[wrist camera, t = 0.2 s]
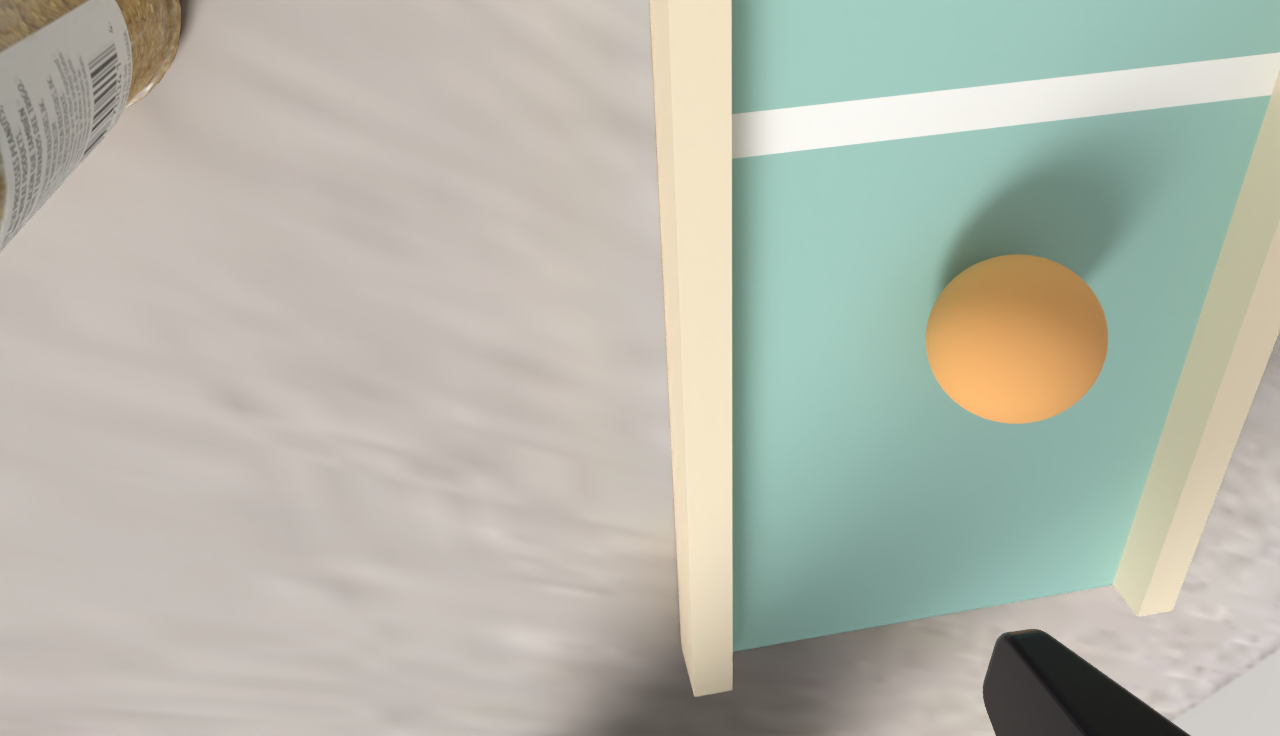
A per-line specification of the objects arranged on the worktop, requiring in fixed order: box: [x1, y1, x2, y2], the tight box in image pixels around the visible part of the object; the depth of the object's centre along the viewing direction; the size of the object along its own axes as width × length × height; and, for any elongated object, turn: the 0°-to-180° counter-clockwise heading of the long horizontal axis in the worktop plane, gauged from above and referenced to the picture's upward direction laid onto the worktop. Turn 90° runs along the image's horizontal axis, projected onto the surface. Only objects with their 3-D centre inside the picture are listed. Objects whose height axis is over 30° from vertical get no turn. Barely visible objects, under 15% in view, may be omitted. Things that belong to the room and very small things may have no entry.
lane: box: [650, 0, 1280, 697], centre depth 22 cm, size 26×16×4 cm, turn 3°
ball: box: [925, 254, 1108, 424], centre depth 22 cm, size 4×4×4 cm
